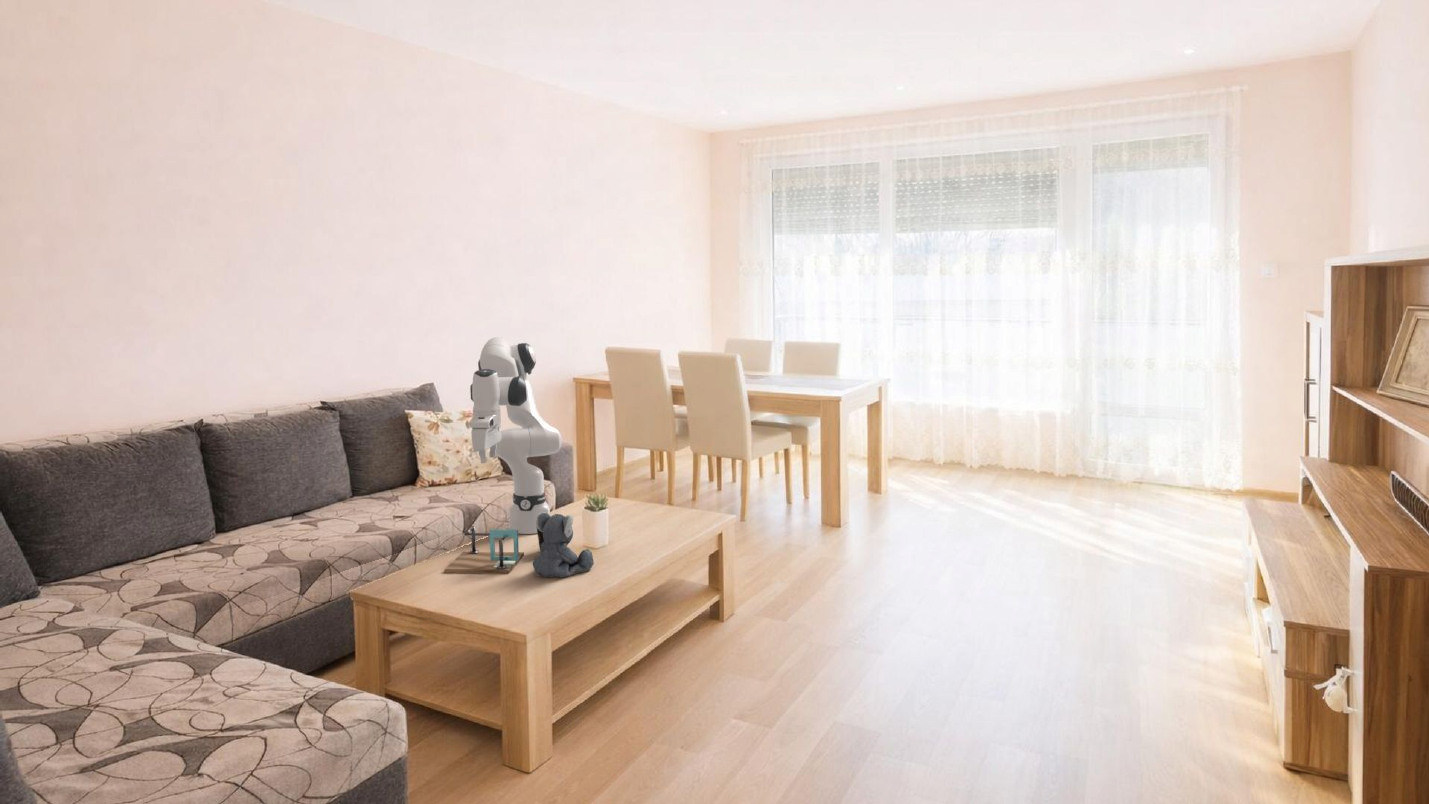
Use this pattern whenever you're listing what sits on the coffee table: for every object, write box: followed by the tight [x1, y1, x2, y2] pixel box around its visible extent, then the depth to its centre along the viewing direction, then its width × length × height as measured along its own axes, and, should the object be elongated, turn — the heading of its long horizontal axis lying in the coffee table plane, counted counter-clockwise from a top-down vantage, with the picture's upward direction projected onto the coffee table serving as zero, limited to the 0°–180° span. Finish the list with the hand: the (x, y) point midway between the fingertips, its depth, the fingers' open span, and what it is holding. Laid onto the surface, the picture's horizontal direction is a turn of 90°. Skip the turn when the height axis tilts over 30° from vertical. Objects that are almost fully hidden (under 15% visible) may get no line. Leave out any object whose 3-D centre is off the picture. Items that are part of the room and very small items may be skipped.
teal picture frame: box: [489, 528, 520, 561], centre depth 280 cm, size 1×9×10 cm, turn 88°
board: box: [444, 551, 525, 575], centre depth 285 cm, size 18×21×1 cm
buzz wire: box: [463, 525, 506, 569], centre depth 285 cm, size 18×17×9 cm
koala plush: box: [532, 512, 595, 579], centre depth 276 cm, size 17×18×20 cm
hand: (488, 459), depth 285 cm, fingers open, 8 cm apart
